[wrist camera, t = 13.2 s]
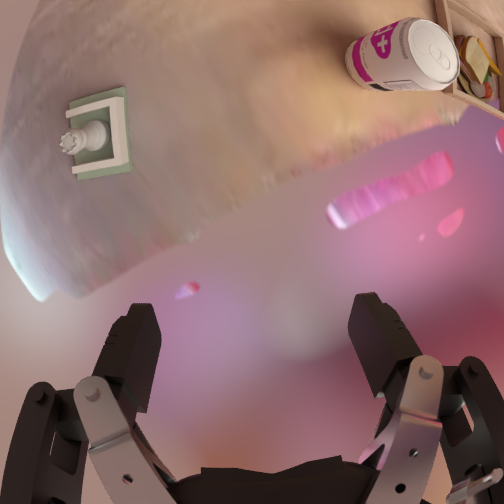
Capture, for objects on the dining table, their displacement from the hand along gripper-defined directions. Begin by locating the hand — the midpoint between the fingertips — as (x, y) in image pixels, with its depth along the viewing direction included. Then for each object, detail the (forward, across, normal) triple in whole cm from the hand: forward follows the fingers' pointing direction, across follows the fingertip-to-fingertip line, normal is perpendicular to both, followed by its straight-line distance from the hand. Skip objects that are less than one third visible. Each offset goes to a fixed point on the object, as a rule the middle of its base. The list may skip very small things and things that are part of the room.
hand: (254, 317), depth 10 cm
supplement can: (+28, -18, -16) cm, 37 cm away
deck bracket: (+28, +20, -7) cm, 35 cm away
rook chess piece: (+27, +19, -7) cm, 34 cm away
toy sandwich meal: (+29, -40, -22) cm, 54 cm away
